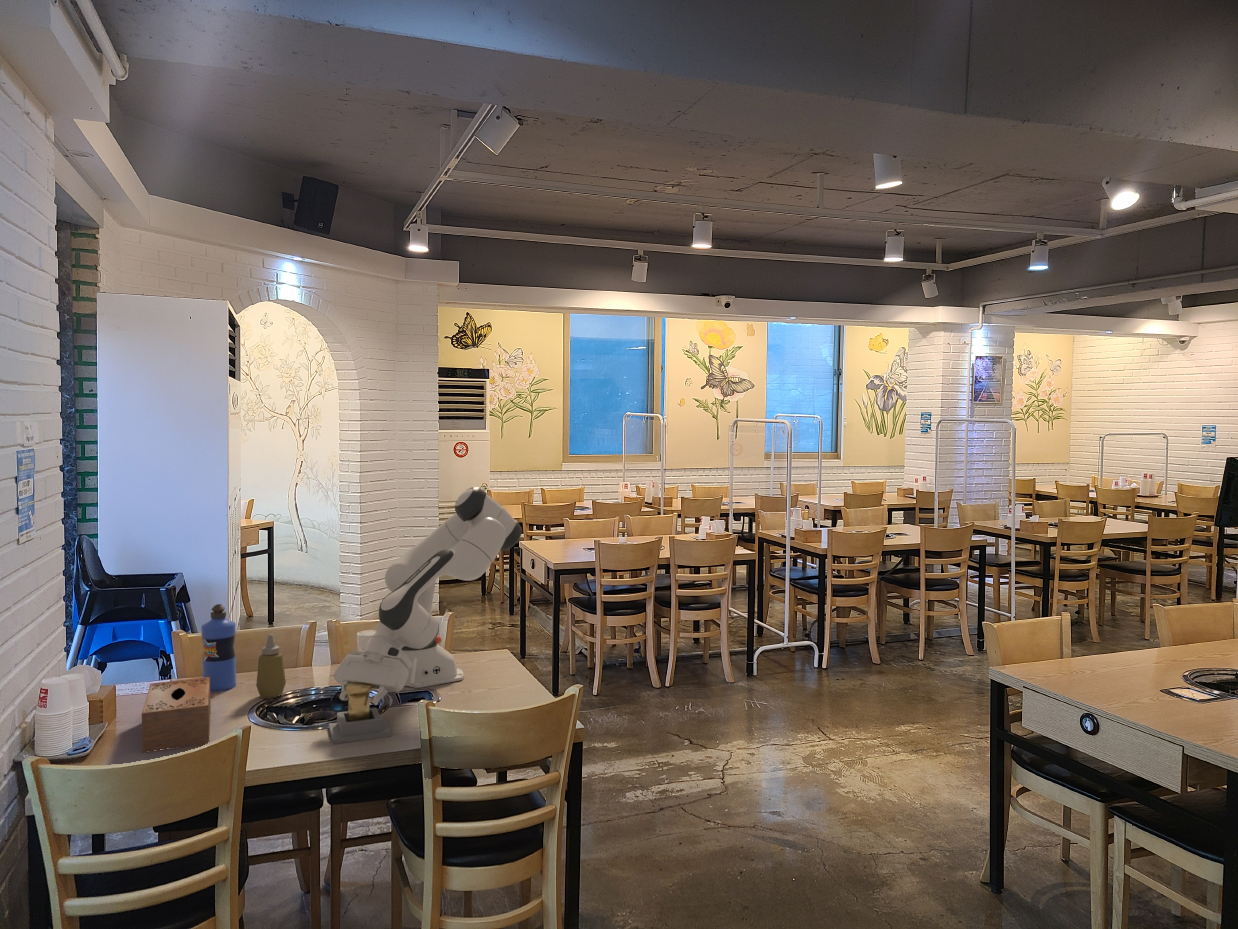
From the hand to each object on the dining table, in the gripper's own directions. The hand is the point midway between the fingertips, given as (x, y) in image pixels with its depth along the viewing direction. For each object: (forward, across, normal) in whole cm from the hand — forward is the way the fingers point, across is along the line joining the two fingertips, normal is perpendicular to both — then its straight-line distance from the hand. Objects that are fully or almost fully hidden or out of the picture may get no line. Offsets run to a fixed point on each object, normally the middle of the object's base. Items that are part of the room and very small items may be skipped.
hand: (357, 701), depth 218 cm
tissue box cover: (+18, -44, -5) cm, 47 cm away
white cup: (-32, -38, +44) cm, 67 cm away
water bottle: (-5, -63, +17) cm, 65 cm away
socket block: (+5, 0, +6) cm, 8 cm away
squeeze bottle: (-4, -42, +16) cm, 46 cm away
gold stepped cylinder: (+4, 0, +5) cm, 7 cm away
